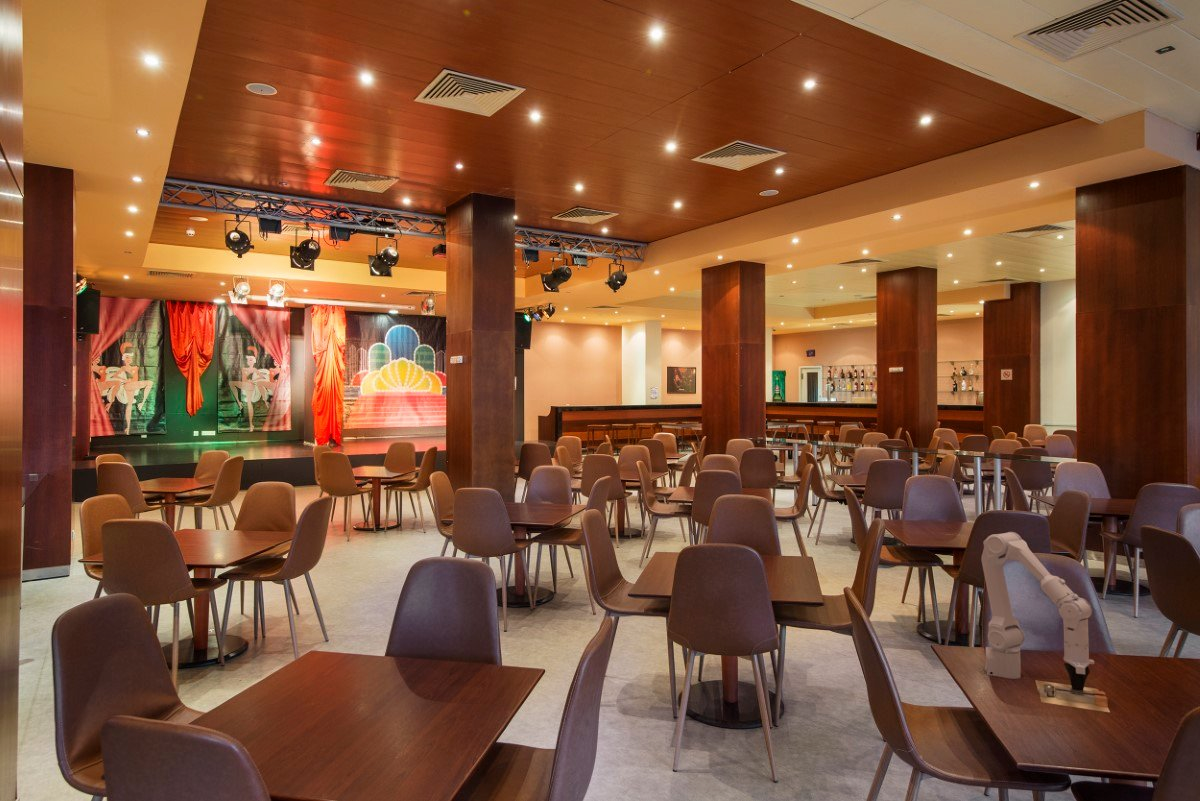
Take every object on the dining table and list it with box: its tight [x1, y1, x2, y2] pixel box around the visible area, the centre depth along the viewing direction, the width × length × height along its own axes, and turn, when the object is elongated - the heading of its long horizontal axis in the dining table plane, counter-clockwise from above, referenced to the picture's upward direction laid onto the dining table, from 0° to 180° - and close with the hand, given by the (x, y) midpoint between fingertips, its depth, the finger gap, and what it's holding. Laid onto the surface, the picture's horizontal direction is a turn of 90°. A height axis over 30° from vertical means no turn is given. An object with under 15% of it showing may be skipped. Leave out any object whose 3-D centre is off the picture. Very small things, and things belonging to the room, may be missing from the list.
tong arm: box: [1055, 686, 1106, 696], centre depth 193 cm, size 12×2×2 cm, turn 63°
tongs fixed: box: [1037, 684, 1109, 708], centre depth 193 cm, size 15×4×3 cm, turn 63°
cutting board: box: [1035, 679, 1111, 713], centre depth 196 cm, size 15×18×1 cm
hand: (1077, 691), depth 195 cm, fingers closed
